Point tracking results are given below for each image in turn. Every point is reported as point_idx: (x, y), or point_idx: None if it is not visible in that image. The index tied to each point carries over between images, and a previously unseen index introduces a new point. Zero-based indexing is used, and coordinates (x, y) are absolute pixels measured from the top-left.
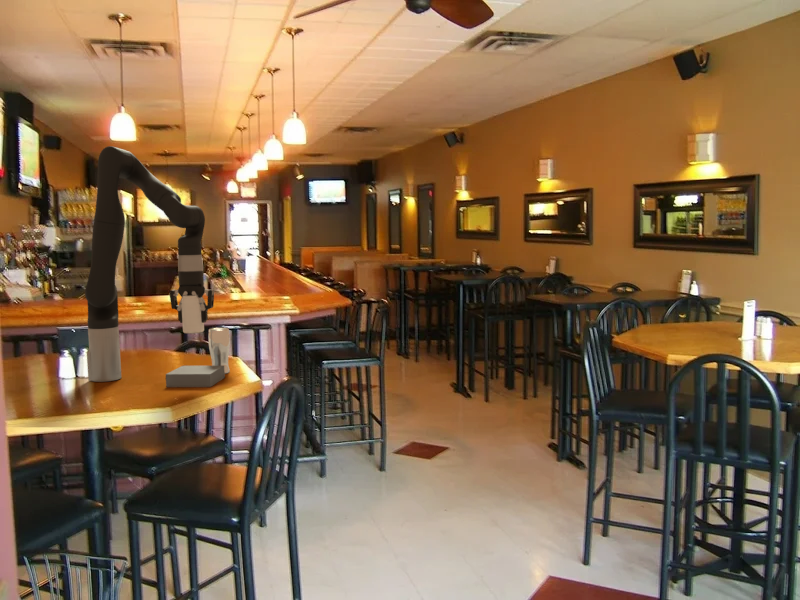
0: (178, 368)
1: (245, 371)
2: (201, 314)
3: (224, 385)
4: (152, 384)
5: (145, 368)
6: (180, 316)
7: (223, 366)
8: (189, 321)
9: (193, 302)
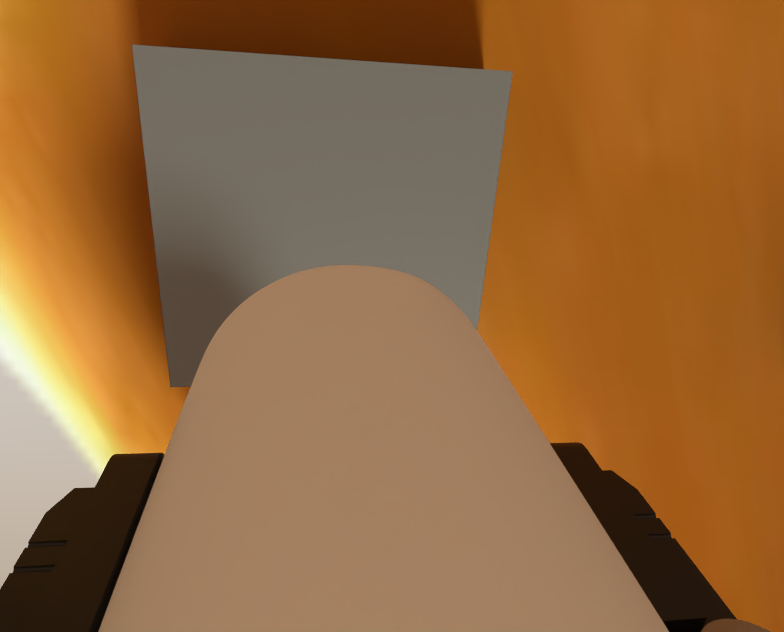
0: (471, 293)
1: None
2: (102, 575)
3: (75, 98)
4: (591, 166)
5: (694, 548)
6: (620, 517)
7: (169, 368)
8: (366, 339)
9: None
